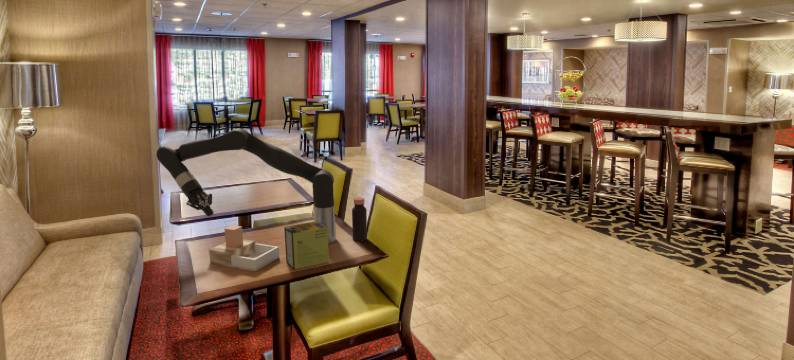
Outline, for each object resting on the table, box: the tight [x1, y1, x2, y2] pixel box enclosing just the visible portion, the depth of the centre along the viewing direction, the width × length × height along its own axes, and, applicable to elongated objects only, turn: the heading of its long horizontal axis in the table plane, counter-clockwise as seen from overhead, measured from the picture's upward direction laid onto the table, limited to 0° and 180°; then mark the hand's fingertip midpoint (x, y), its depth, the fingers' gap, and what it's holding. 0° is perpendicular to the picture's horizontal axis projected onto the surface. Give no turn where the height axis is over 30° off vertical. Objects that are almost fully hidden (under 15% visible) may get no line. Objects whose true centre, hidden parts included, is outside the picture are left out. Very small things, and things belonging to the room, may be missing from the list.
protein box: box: [283, 220, 330, 270], centre depth 210 cm, size 10×15×16 cm
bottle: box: [351, 196, 368, 242], centre depth 236 cm, size 7×7×20 cm
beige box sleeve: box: [208, 238, 256, 268], centre depth 215 cm, size 16×11×6 cm
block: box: [224, 224, 244, 248], centre depth 213 cm, size 5×5×8 cm
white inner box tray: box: [231, 242, 280, 272], centre depth 211 cm, size 16×12×5 cm
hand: (211, 214), depth 217 cm, fingers closed
